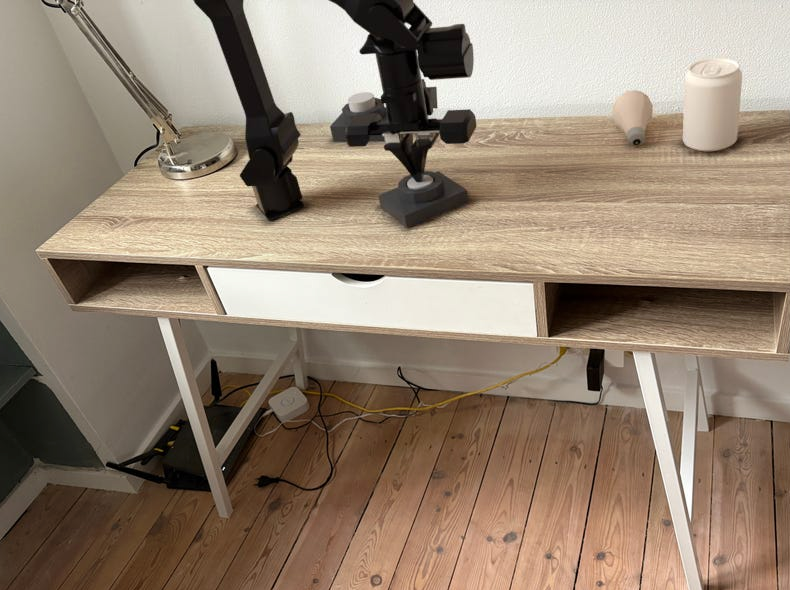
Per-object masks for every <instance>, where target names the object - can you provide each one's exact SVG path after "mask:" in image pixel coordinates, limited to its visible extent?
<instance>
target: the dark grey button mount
mask: <svg viewBox="0 0 790 590" xmlns="http://www.w3.org/2000/svg"><path fill="white" fill-rule="evenodd" d="M374 99H375V104H376V106H375V107H374V108H372V109H370V110H368V111H364V112H351V111H350V107H349V103H346V104H344V106H343V107H341V113H340V114H339V115H338V117H337V118H336V119H335V120H334V121H333V122H332V123H331V125H330V126H329V128H330V132H331V136H332V141H333V142H346V138H345V129H346V128H347V127H348V125H349V124H350V123H351V122H352V120H353V119H354V118H355V117H356V115H357V114H372V113H378V114H379V115H380V116H381V119H382V121H389V120H388V115H387V110H386V105H385V103H384V104H382V102H381V98H379V97H376V96H374ZM369 142H385V139H384V136H383V135H372V136H370V141H369Z"/></svg>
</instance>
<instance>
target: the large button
mask: <svg viewBox="0 0 790 590" xmlns="http://www.w3.org/2000/svg"><path fill="white" fill-rule="evenodd" d="M374 97H375V95H374V93H373V92H371V91H370V92H369V91H364V92H363V91H362V92H358V93H355V94H353V95H351V96H349V97H348V99H347V102H348V103H349V107H350V111H351V112H364V111H368V110H370V109H372V108H374V107H375V106H376V104H375V99H374ZM348 103H347V104H348Z"/></svg>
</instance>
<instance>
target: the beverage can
mask: <svg viewBox="0 0 790 590" xmlns="http://www.w3.org/2000/svg"><path fill="white" fill-rule="evenodd" d="M742 83H743V71H742V70H741V68H740V64H739V62H738V61H736V60H734V59H731V58H725V57H711V58H704V59H700V60H697V61H695V62H693V63H691V64H690V65H689V67H688V71H687V72H686V74H685V77H684V92H683V93H684V95H683V118H682V121H683V123H682V142H683V144H684V145H685V146H686V147H688V148H690V149H692V150H695V151H699V152H707V153H708V152H716V151H717V152H718V151H722V150H724V149H726V148H730V147H731V146H733V145H734V144H735V143H736V142H737V140H738V132H739V123H740V121H739V120H740V109H741V96H742V95H741V94H742Z"/></svg>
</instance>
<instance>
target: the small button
mask: <svg viewBox="0 0 790 590" xmlns="http://www.w3.org/2000/svg"><path fill="white" fill-rule="evenodd" d="M433 183H434V182H433V178H432V177H431V176H429V175H424V176H423V180H422V182H416V181H415V180H414V178H413V177H412V178H411V179H409V180H408V182H407V185H408V188H409V189H423V188H426V187H429V186H431V185H432V184H433Z"/></svg>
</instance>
